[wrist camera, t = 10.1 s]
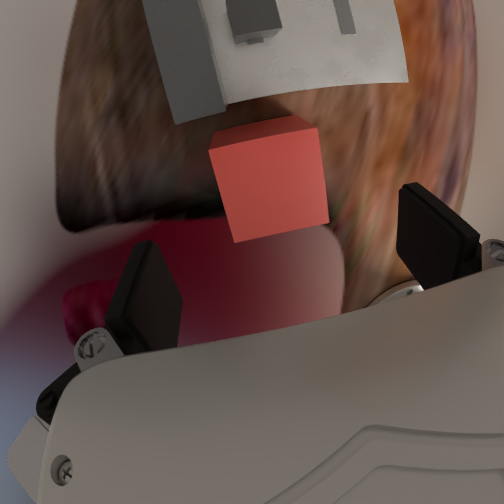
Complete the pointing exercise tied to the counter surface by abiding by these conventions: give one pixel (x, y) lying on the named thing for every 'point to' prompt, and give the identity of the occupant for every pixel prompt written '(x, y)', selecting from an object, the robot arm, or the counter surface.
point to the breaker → (253, 19)
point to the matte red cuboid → (270, 177)
